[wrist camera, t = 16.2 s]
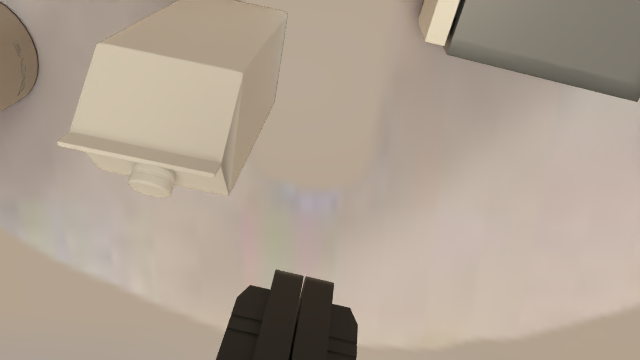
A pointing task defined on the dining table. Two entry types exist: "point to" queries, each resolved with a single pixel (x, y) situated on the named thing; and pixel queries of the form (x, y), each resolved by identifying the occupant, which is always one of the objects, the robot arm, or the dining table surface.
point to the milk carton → (181, 95)
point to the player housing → (555, 41)
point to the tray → (438, 19)
